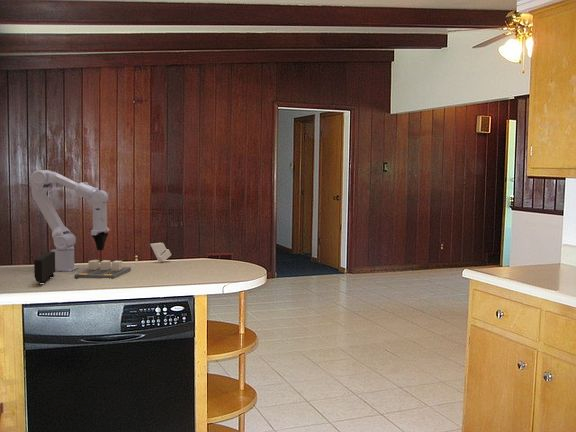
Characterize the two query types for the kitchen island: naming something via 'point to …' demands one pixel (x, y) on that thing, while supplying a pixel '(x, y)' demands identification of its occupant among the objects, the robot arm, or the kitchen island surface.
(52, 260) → the digital display
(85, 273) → the switch bank
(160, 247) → the white angled block
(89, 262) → the beige block
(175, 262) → the kitchen island surface
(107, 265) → the tab
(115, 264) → the cream squarish block
